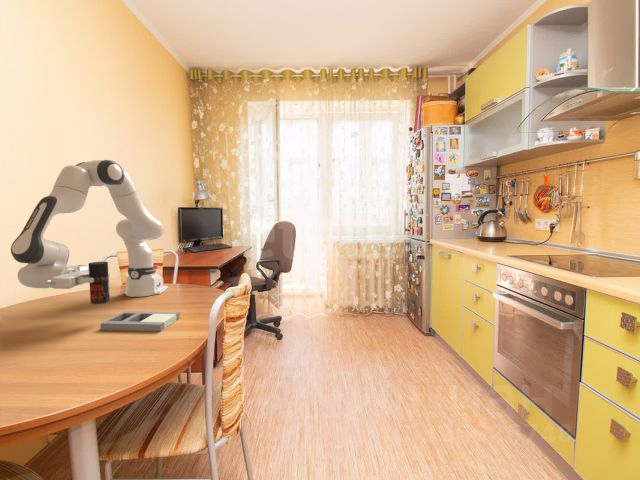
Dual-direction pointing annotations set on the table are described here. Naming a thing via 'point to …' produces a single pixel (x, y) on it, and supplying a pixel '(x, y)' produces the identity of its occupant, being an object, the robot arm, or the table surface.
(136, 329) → the board
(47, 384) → the table surface
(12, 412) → the table surface
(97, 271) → the deodorant
